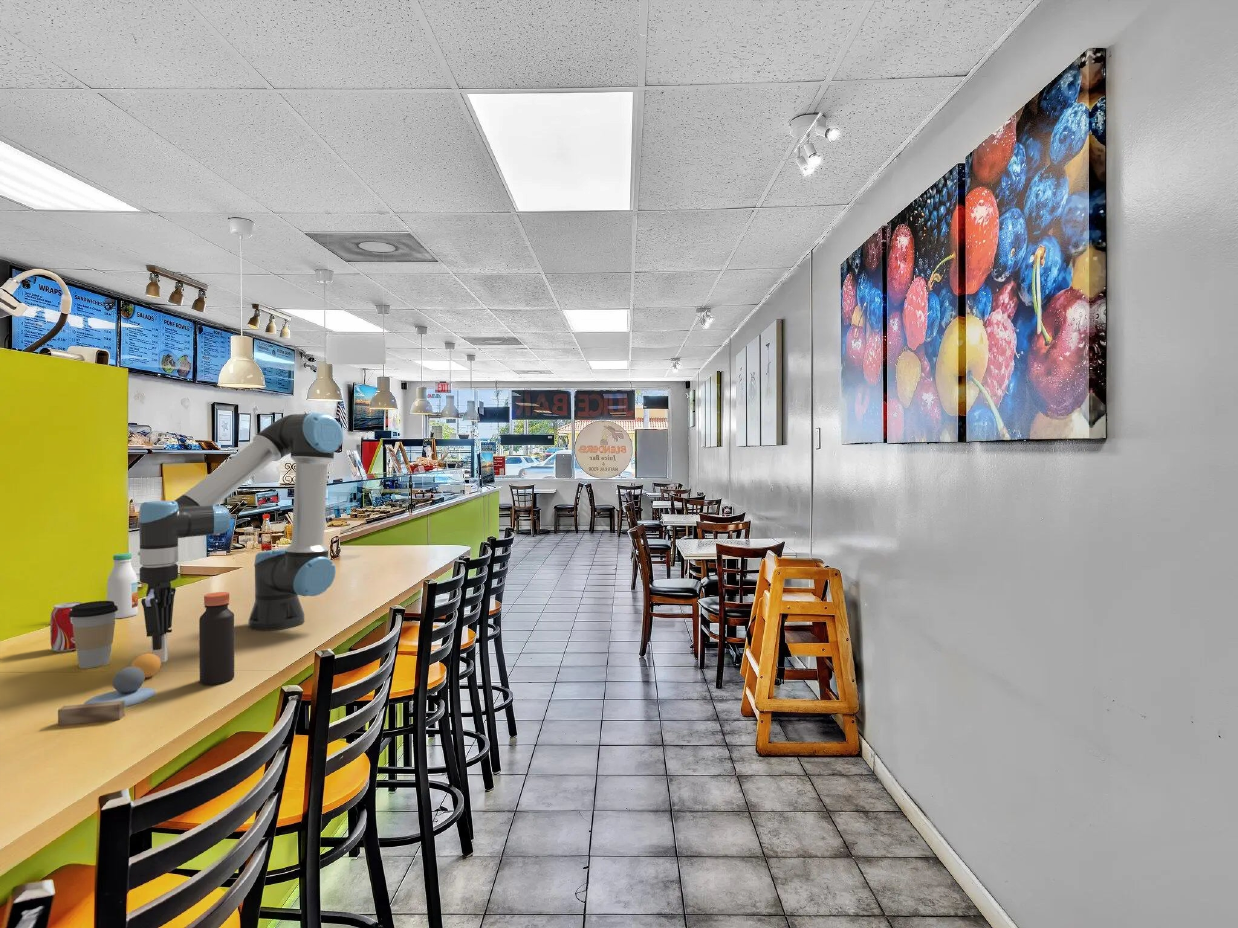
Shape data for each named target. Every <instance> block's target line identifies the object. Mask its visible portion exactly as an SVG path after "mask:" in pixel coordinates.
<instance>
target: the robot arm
mask: <svg viewBox="0 0 1238 928" xmlns="http://www.w3.org/2000/svg"><path fill="white" fill-rule="evenodd" d="M343 440H344V433H343V429H342V426H341V424H340V423H339V422H338V421H337V420H336V419H335V417H333V416H331V415H329V414H325V413H319V412H317V413H316V412H312V413H302V414H301V413H299V414H297V413H295V414H293V413H292V414H288V415H285V416H283V417H281V418H279V419H277V420H276V421H274V422H273V423H271V424H269V425H267V427H265V428H263V430H261V431H259V432H258V433H257V434H255V436H253V438H252V442H251V443H250V444H249V445H248V446H245V448H243V449H242V450H240V451H239V452H238V453H237V454H235V455H234V456H233V457H231V458H230V459H229V460H227V461H226V462H225V463H224V464H222V465H220V466H219V467H218V468H216V469H215V470H213V471H212V472H211V473H210V474H208V475H207V476H206V477H204V478H203V479H202V480H200V481H199V482H198V483H196V484H195V485H193V486H192V487H191V488H190V489H189V490H187V491H186V492H185V493H183V494H182V495H181V496H179V497H177V498H176V499H175V500H151V501H144V502H142V503H141V504H140V506H139V512H138V525H139V526H138V528H139V529H138V530H139V551H137V555H138V556H139V564H140V565H141V566H140V568H139V582H140V583H142V584H147V587H146V588H147V590H146V592H145V593H146V594H145V595H146V598H141V601H140V603H141V606H142V608H143V616H144V624H145V629H146V637H151V654H154V655H156V656H158V657H159V659H160V661H161V663H165V662H166V661H168V633H172V632H173V629H172V624H173V616H174V615H173V613H174V601H175V596H176V591H177V589H176V587H172V583H171V582H173V581H176V580H177V579H178V578H179V564H177V562H179V539H183V538H184V539H185V538H189V537H191V538H193V537H202V536H203V537H204V536H215V535H219V534H225V533H226V532H228V531H229V528H230V527H231V522H232V519H231V518H232V517H231V513H230V510H229V509H228V508H227V507H226V506H225V505H218V504H219V503H221V502H222V501H224V500H225V499H226V498H227V497H229V496H230V495H231V494H232V493H234V492H235V491H236V490H237V489H238V488H240V487H242V486H243V485H244V484H245V483H247V481H249V480H250V479H251V478H253V477H254V476H255V475H257V474H258V473H259V472H260V471H262V470H263V469H264V468H265V467H267V466H268V465H269V464H270V463H271V462H278V461H281V459H282V458H284V457H286V456H287V455H290V459H292V461H294V462H295V475H294V476H295V478H294V489H293V490H294V491H293V494H294V495H293V510H292V525H291V527H292V528H291V542H290V543H291V544H290V545H288V547H286V548H279V549H278V548H277V549H271V550H265V551H259V552H257V554H255V559H254V602H253V606H252V609H251V612H250V615H249V618H248V622H247V623H248V624H247V625H248V628H249V629H250V630H252V631H253V630H254V631H274V630H275V631H276V630H283V629H288V628H293V627H296V626H300V625H301V624H303V623H305V611H304V610H303V607H302V604H301V602H300V596H301V597H316V596H319V595H321V594H323V593H325V592H326V591H327V590H328V588H330V587H331V586H332V585H333V582H334V580H335V577H336V571H337V570H336V566H335V564H334V562H333V561H332V560H331V559H330V558H329V548H328V547H327V546H326V545H325V544H324V540H325V525H326V524H325V521H326V505H327V504H326V502H327V501H326V500H327V486H328V485H327V483H328V469H329V468H328V467H329V464H330V463H331V462H332V461H334V456H335V452H336V451H338V450H339V447H341V446H342V444H343Z"/></svg>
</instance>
